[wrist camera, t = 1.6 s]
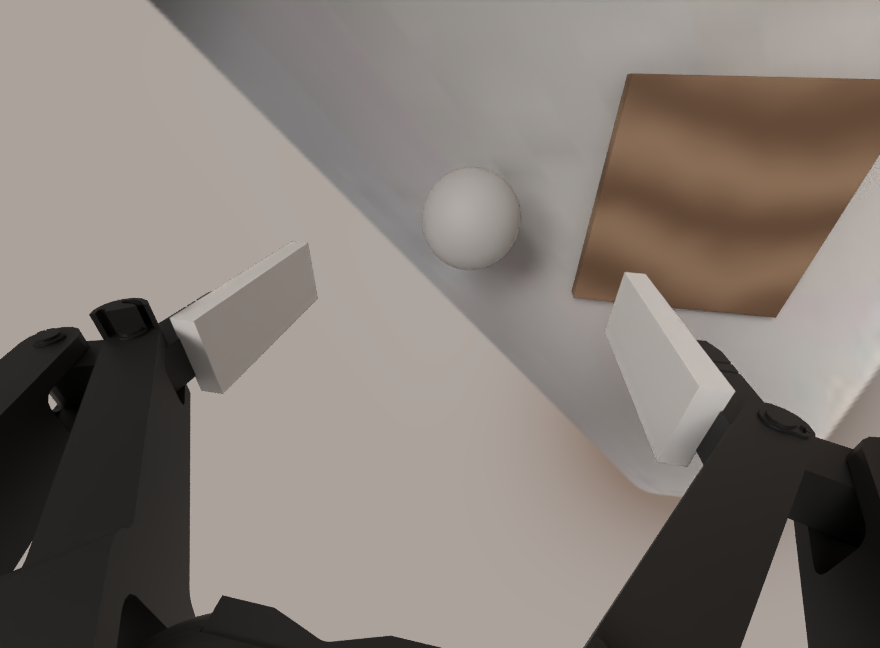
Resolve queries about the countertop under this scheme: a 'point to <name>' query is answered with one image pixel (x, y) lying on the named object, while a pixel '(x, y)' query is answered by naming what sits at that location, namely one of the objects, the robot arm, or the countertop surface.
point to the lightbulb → (471, 218)
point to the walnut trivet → (726, 186)
